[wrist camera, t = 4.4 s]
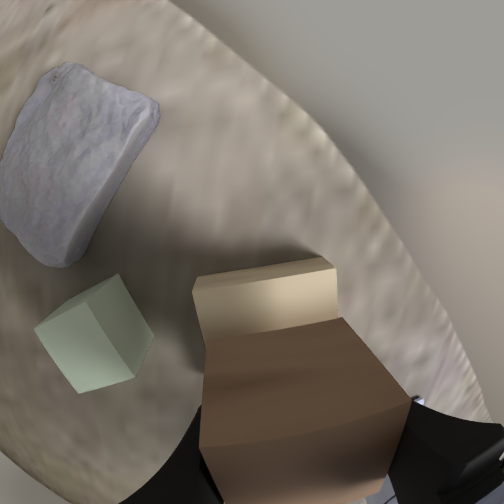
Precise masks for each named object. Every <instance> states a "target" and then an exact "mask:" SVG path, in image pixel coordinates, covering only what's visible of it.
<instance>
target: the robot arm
mask: <svg viewBox="0 0 504 504" xmlns="http://www.w3.org/2000/svg"><path fill="white" fill-rule="evenodd" d="M423 403H424V399H423V398H422V397H420V398H418V399H415V400H412V402H411V406H410V409H409V413H408V416H407V419H406V423H405V426H404V429H403V432H402V435H401V438H400V441H399V444H398V447H397V449H396V452H395V455H394V457H393V460H392V463H391V465H390V468H389V470H388V473H387V475H386V477H385V480H384V482H383V484H382V487H381V489H380V491H379V492H378V493H375V494H372V495H370V496H367V497H365V498H366V501H367V503H368V504H504V472H503V471H502V469H501V468H500V466H501V465H502V462H501V461H500V460H499V458H500V456H501V455H502V454H503V452H504V427H503V426H502V425H501V424H496V423H482V422H475V421H469V420H464V419H459V418H456V417H452V416H449V415H446V414H443V413H440V412H437V411H435V410H432V409H430V408H428V407H426V406H423ZM201 408H202V405H200V406H199V408H198V410H197V413H196V415H195V417H194V419H193V421H192V423H191V424H190V426H189V428H188V430H187V432H186V433H185V435H184V437H183V438H182V440H181V442H180V443H179V445H178V446H177V448H176V449H175V450H174V452H173V453H172V455H171V456H170V457H169V459H168V460H167V461H166V463H165V464H164V465H163V466H162V467H161V468H160V470H159V471H158V472H157V473H156V474H155V475H154V476H153V477H152V478H151V479H150V480H149V481H148V482H147V483H146V484H144V485H143V486H142V487H141V488H140V489H138V490H137V491H136V492H135V493H133V494H132V495H131V496H130V497H128V498H127V499H125V500H124V501H122V502H120V503H119V504H224V500H223V498H222V496H221V494H220V492H219V490H218V488H217V486H216V484H215V482H214V480H213V478H212V476H211V474H210V471H209V469H208V467H207V465H206V463H205V460H204V458H203V456H202V453H201V451H200V449H199V438H200V422H201Z"/></svg>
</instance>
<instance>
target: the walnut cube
mask: <svg viewBox="0 0 504 504" xmlns="http://www.w3.org/2000/svg"><path fill="white" fill-rule="evenodd" d="M411 402H412V399H411V398H410V397H409V396H408V395H407V393H406V392H405V391H404V390H403V388H402V387H401V386H400V385H399V384H398V382H397V381H396V380H395V379H394V378H393V376H392V375H391V374H390V373H389V372H388V370H387V369H386V368H385V367H384V366H383V364H382V363H381V362H380V361H379V360H378V358H377V357H376V356H375V355H374V354H373V353H372V351H371V350H370V349H369V348H368V347H367V345H366V344H365V343H364V342H363V341H362V340H361V338H360V337H359V336H358V335H357V334H356V333H355V331H354V330H353V329H352V328H351V327H350V326H349V324H348V323H347V322H346V321H345V320H344V319H343V317H341V318H336V319H332V320H327V321H322V322H317V323H312V324H306V325H301V326H296V327H290V328H284V329H279V330H273V331H266V332H260V333H253V334H247V335H240V336H232V337H225V338H217V339H209V340H207V348H206V359H205V370H204V382H203V395H202V408H201V422H200V438H199V449H200V451H201V453H202V456H203V458H204V460H205V463H206V465H207V467H208V469H209V471H210V474H211V476H212V478H213V480H214V482H215V484H216V486H217V488H218V490H219V492H220V494H221V496H222V498H223V500H224V502H225V504H346V503H349V502H352V501H355V500H358V499H361V498H364V497H367V496H370V495H372V494H375V493H378V492H379V491H380V489H381V487H382V484H383V482H384V480H385V477H386V475H387V473H388V470H389V468H390V465H391V463H392V460H393V457H394V455H395V452H396V449H397V447H398V444H399V441H400V438H401V435H402V432H403V429H404V426H405V423H406V419H407V416H408V413H409V409H410V406H411Z"/></svg>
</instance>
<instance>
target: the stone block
mask: <svg viewBox="0 0 504 504" xmlns="http://www.w3.org/2000/svg"><path fill="white" fill-rule="evenodd" d="M159 119H160V110H159V103H158V102H156V101H154V100H153V99H152V98H150V97H148V96H146V95H143V94H141V93H139V92H137V91H130V90H127V89H126V88H124V87H121V86H119V85H116V84H113V83H111V82H108V81H106V80H105V79H103V78H100V77H98V76H97V75H95V74H94V73H93V72H92V71H90V70H89V69H88V68H87V67H85V66H84V65H81V64H77V63H70V62H69V63H64V64H63V65H61V66H60V67H54V68H53V69H51V70H50V71H49V72H48V73H46V74H45V75H44V76H42V78H41V79H40V81H39V82H38V85H37V87H36V89H35V91H34V93H33V94H32V96H31V97H30V98H29V99H28V100H27V101H26V103H25V104H24V106H23V108H22V110H21V111H20V114H19V116H18V118H17V121H16V125H15V129H14V131H13V132H12V135H11V136H10V138H9V140H8V142H7V145H6V148H5V150H4V155H3V158H2V160H1V162H0V218H1V219H2V221H3V222H4V224H5V226H6V227H7V229H9V230H10V231H11V232H12V233H14V234H15V235H16V236H17V238H18V240H19V241H20V243H21V244H22V246H23V247H24V248H25V249H26V250H27V251H28V252H29V253H30V254H31V255H32V256H33V257H34V258H35V259H36V260H38V261H39V262H41V263H42V264H44V265H45V266H50V267H58V268H66V267H69V266H70V265H71V264H72V263H74V262H76V261H78V260H80V259H81V258H82V256H83V255H84V253H85V251H86V249H87V247H88V245H89V243H90V241H91V239H92V237H93V235H94V233H95V230H96V229H97V227H98V225H99V223H100V221H101V219H102V217H103V215H104V213H105V211H106V209H107V207H108V205H109V204H110V202H111V200H112V198H113V196H114V194H115V193H116V191H117V189H118V187H119V186H120V184H121V182H122V181H123V179H124V177H125V176H126V174H127V172H128V171H129V169H130V167H131V165H132V163H133V162H134V160H135V159H136V157H137V156H138V154H139V153H140V151H141V150H142V148H143V147H144V146H145V144H146V143H147V141H148V140H149V138H150V137H151V135H152V134H153V132H154V131H155V129H156V127H157V125H158V123H159Z"/></svg>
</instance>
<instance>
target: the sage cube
mask: <svg viewBox="0 0 504 504" xmlns="http://www.w3.org/2000/svg"><path fill="white" fill-rule="evenodd" d="M34 331H35V332H36V334H37V336H38V337H39V339H40V340H41V342H42V344H43V345H44V347H45V348H46V350H47V351H48V353H49V354H50V356H51V357H52V359H53V360H54V362H55V363H56V364H57V366H58V367H59V369H60V370H61V371H62V373H63V374H64V376H65V377H66V378H67V380H68V381H69V382H70V383H71V385H72V386H73V387H74V389H75V390H76V391H77V392H78V394H80V393H83V392H87V391H91V390H95V389H98V388H102V387H105V386H109V385H112V384H116V383H119V382H123V381H126V380H129V379H132V378H136V376H137V373H138V371H139V369H140V367H141V364H142V362H143V360H144V358H145V356H146V353H147V351H148V349H149V347H150V345H151V343H152V341H153V338H154V334H153V332H152V331H151V329H150V328H149V326H148V324H147V323H146V321H145V319H144V318H143V316H142V314H141V313H140V311H139V309H138V308H137V306H136V304H135V303H134V301H133V299H132V297H131V296H130V294H129V292H128V290H127V288H126V287H125V285H124V283H123V281H122V279H121V277H120V276H119V274H116V275H114V276H112V277H110V278H108V279H106V280H104V281H102V282H100V283H98V284H97V285H95V286H93V287H91V288H89V289H87V290H85V291H83V292H81V293H79V294H78V295H76V296H74V297H72V298H70V299H68V300H67V301H66V302H65V303H63V304H62V305H61V306H60V307H59V308H57V309H56V310H55V311H54V312H52V313H51V314H50V315H49V316H48V317H46V318H45V319H44V320H43V321H42V322H41V323H39V324H38V325H37V326H36V327H35V328H34Z"/></svg>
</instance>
